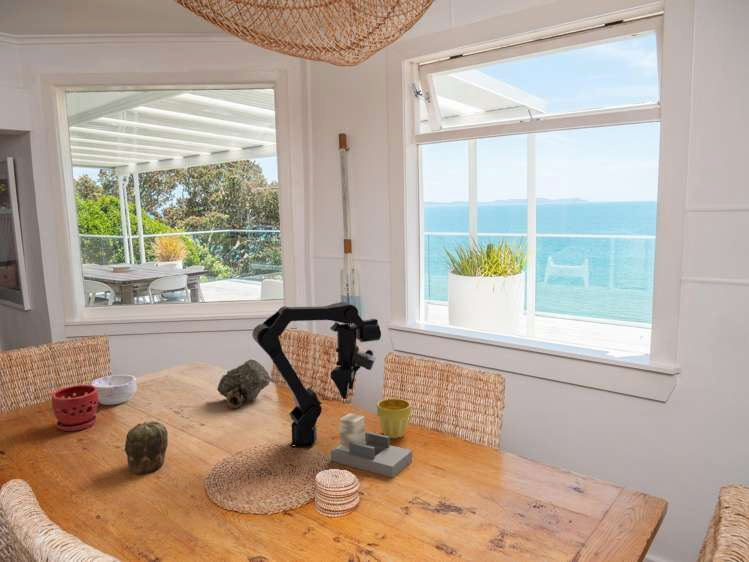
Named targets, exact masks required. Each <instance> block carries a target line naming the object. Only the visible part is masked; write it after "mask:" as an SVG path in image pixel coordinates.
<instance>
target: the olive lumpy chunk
mask: <svg viewBox="0 0 749 562" xmlns="http://www.w3.org/2000/svg"><path fill="white" fill-rule="evenodd" d="M168 436H169V434H168V429H167V427H166V426H165V425H164V424H163V423H162V422H159V421H157V420H151V421H148V420H147V421H144V422H143V423H138V424H135V426H134V427H132V428H131V429H129V431H127V434H126V438H125V446H124V451H125V454H126V458H127V465H128V469H130V471H131V472H132V473H134V474H138V475H144V474H147V473H148V474H149V473H151V472H155V471H157V470H159V469H160V468H161V467H162V466H163V465H164V463H165V457H166V453H167V448H168V443H169V442H168Z"/></svg>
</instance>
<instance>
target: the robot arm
mask: <svg viewBox="0 0 749 562" xmlns="http://www.w3.org/2000/svg"><path fill="white" fill-rule="evenodd" d="M302 321H303V322H307V321H308V322H309V321H312V322H313V321H332V322H334V324H333V325H331V326H330V327H329V328H330V329H329V330H331V331H332V332H334V333H336V337H337V339H336V341H337V343H336V344H337V345H336V346H337V347H336V348H335V352H336V353H337V361H336V363H335V365H336V366H335V367H334V368H333V369H332V370H331V372H330V380H332V381H333V382H334V385H335V386H336V388H337V390H338V392H339V394H340V396H341V398H342V400H346V399H348V398H347V397H348V391H349V390H353V389H354V384H355V379H356V375H357V372H358V371H359V370H360V369H361V367H362V368H365V370H367V371H371V370H372V368H373V366H374V363H375V362H376V361H375V360H376V356H375V355H374V350H372V349H370V348H369V349H367V350H366V351H361V350H359V349H360V347H359V346H358V345H357V340H359V342H360V343H368V342H376V341H380V340H381V337H382V330H381V327H380V325H379V323H378V319H377V318H369V319H365V320H363V319H362V318H361V316H360V315H359V310H358V308H357V307H356V306H355V305H353V304H351V303H349V302H347V301H341V302H336V303H332V304H329V305H324V306H323V305H322V306H286V305H285V306H282V307H279V309H278V310H277V311H276V312H275V313H273V314H272V315H271V316H269V317H268V318H267V319H266V320H265V321H264V322H263V323H260V324H258V325H256V326H255V327H254V329H253V330H252V334H251V335H252V338H253V340H254V341H255V342H256V343H257V344H258V346H259V347H260V348H261V349H262V350H263V351H264V352H265V353H266V354H267V355H268V356H269V357H270V359H271V360H272V362H273V364H274V366H275V367H276V369H277V371H278V373H280V375H281V377H282V379H283V380H284V382H285V383H286V385H287V387H288V388H289V390H290V392H291V394H292V397H293V401H294V404H295V407H294V408H293V409H292V410H291V411H290V412H289V416H290V419H291V421H293V422H292V423H291V442H290V444H289V446H290V445H295V446H299V447H298V448H312V447H313V446H314V444H315V443H316V441H317V440H318V436H317V434H318V433H317V426H316V425H317V421H318V418H320V416H321V414H322V409H323V408H322V404H323V403H322V401H320V399H319V398H318V395H317V394H316V392H315V391H314V390H313V389H312V388H311V387H308V388H307V389H306V388H305V386H304V384H303V382H302V381H301V380H300V377H299V376H298V375H297V373H296V371H295V369H294V368H293V366H292V365H291V362H290V361H289V359H288V358H287V356H286V355H285V353H284V351H283V348H282V344H281V340H280V338H279V337H280V336H281V335H282V334H283V333H284V331H285V330H286V329H287V327H288V325H289V324H290V323H291V322H302ZM351 324H353V325H351Z"/></svg>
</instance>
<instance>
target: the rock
mask: <svg viewBox="0 0 749 562" xmlns="http://www.w3.org/2000/svg"><path fill="white" fill-rule="evenodd" d="M271 381H272V378H271V376H270V374H269V371H268V370H266V369H265V366H264V365H263V364H262V363H260V362H258V361H257V360H255V359H248V360H246V361H245V362H244V363H243V364H241V365H238V366H237V367H236V368H232V369H230V370H227V372H226V374H223V375H222V376H221V378H220V379H219V383H218V386H217V388H216V389H217V392H218V393H219V394H220V396H223V397H224V398H226V399H225V400H226V404H227V405H228V406H229V408H231V409H237V408H240V407H241V405H242V401H247V402H248V401H250V402H251V401H253V400H256V399H257V397H258V396H259V394H260V392H261V391H262V390H264V389H265V388H266V387H267V386H269V385H270V383H271Z"/></svg>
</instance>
